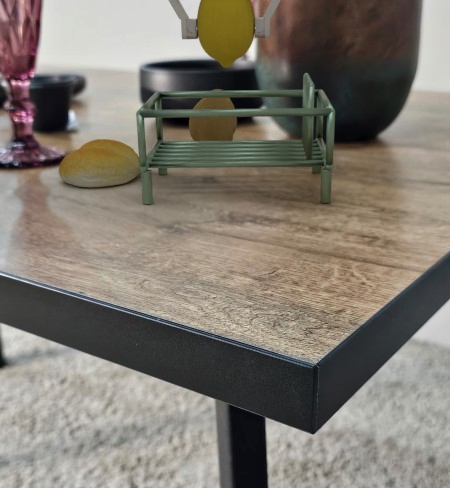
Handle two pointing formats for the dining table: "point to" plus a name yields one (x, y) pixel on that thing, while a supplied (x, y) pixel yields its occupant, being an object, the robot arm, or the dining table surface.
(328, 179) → the dish rack
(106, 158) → the bread roll
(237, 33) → the lemon
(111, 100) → the dining table surface
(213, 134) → the potato
